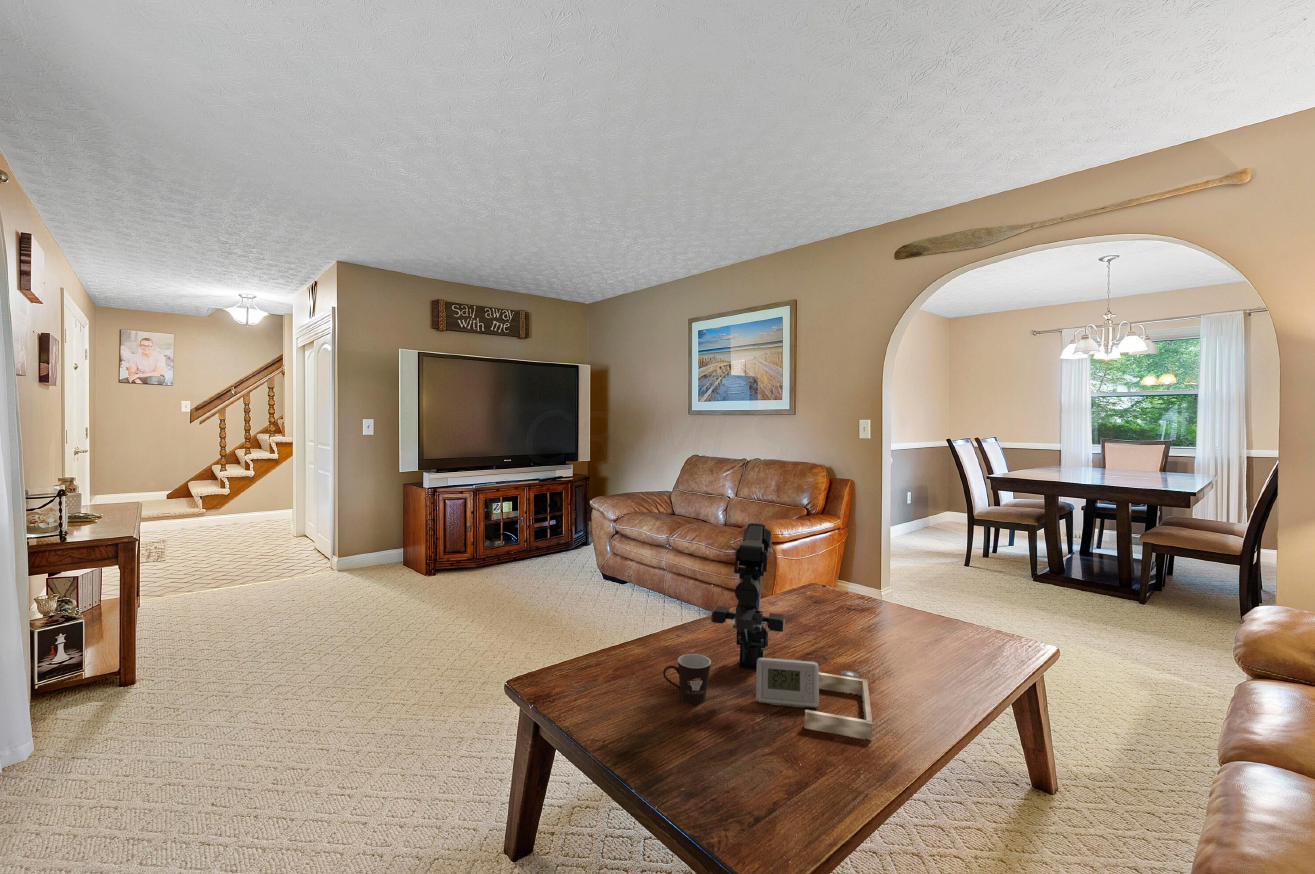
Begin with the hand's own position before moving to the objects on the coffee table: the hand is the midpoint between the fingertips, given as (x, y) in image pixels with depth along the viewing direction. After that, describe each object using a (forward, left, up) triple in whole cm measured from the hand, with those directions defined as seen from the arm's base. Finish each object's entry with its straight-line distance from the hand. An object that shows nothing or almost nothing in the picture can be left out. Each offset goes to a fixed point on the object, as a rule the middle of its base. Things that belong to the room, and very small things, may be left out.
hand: (746, 650), depth 156 cm
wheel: (+27, +18, -12) cm, 35 cm away
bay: (+23, 0, -12) cm, 26 cm away
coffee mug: (-14, -7, -12) cm, 20 cm away
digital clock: (+11, 0, -12) cm, 16 cm away
